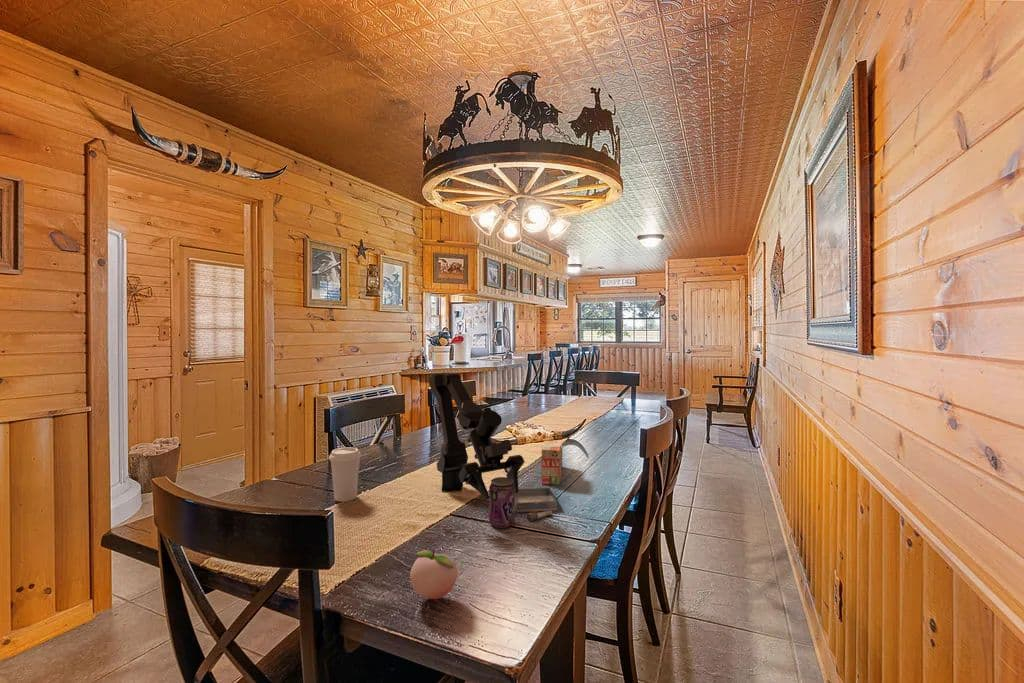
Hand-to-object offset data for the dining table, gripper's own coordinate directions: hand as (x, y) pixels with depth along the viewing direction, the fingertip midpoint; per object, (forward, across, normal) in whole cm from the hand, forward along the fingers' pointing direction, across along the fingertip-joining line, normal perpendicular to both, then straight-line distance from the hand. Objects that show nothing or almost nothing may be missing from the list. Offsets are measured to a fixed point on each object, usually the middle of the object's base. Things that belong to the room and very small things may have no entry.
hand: (503, 495), depth 128 cm
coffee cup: (-25, -32, +36) cm, 54 cm away
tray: (0, +16, +12) cm, 20 cm away
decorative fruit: (+22, -30, -10) cm, 39 cm away
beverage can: (+6, 0, +6) cm, 8 cm away
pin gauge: (+7, +11, +5) cm, 14 cm away
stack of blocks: (-14, +37, +25) cm, 47 cm away
